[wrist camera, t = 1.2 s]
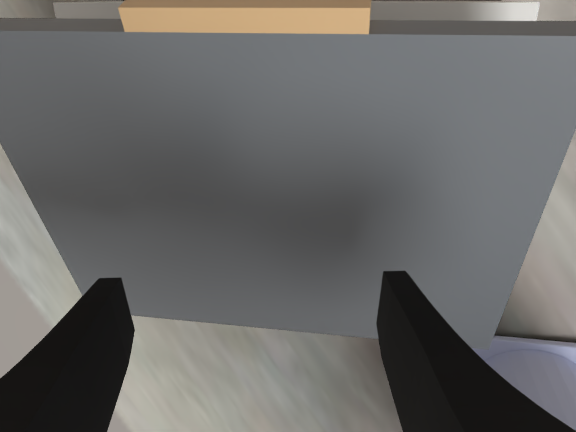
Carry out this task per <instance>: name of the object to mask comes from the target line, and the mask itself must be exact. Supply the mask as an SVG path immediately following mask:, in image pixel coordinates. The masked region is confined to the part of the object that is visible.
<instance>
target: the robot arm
mask: <svg viewBox="0 0 576 432" xmlns="http://www.w3.org/2000/svg"><path fill="white" fill-rule="evenodd" d="M376 325H377V332H378V338H379V345H380V350H381V356H382V360H383V364H384V367H385V371H386V374H387V378H388V381H389V385H390V388H391V392H392V395H393V399H394V402H395V406H396V409H397V412H398V416H399V419H400V423H401V426H402V430H403V432H576V343H570V342H560V341H549V340H538V339H527V338H516V337H505V336H495V335H494V337H493V340H492V342H491V345H490V347H489V350H486V349H476V348H471V347H470V346H469V345H468V344H467V343H466V342H465V341H464V340H463V339H462V338H461V337H460V336H459V335H458V334H457V333H456V332H455V331H454V329H453V328H452V327H451V326H450V325H449V324H448V323H447V321H446V320H445V319H444V318H443V317H442V316H441V315H440V313H439V312H438V311H437V310H436V309H435V307H434V306H433V305H432V304H431V302H430V301H429V300H428V299H427V297H426V296H425V295H424V294H423V292H422V291H421V290H420V289H419V287H418V286H417V285H416V283H415V282H414V281H413V279H412V278H411V277H410V275H409V274H408V273H407V272H406V271H383V276H382V284H381V291H380V299H379V306H378V314H377V321H376ZM134 331H135V329H134V325H133V321H132V317H131V313H130V309H129V305H128V301H127V297H126V294H125V290H124V286H123V282H122V278H99V279H98V280H97V281H96V282H95V283H94V284H93V285H92V286H91V287H90V288H89V289H88V291H87V292H86V293H85V294H84V295H83V296H82V297H81V298H80V299H79V301H78V302H77V303H76V304H75V305H74V306H73V307H72V308H71V310H70V311H69V312H68V313H67V314H66V315H65V316H64V317H63V318H62V319H61V320H60V321H59V322H58V324H57V325H56V326H55V327H54V328H53V329H52V330H51V331H50V332H49V333H48V334H47V335H46V336H45V337H44V338H43V339H42V340H41V341H40V342H39V343H38V344H37V345H36V346H35V347H34V348H33V349H32V350H31V351H30V352H29V353H28V354H27V355H26V356H25V357H24V358H23V359H22V360H21V361H20V362H19V363H17V364H16V365H15V366H14V367H13V368H12V369H11V370H10V371H9V372H7V373H6V374H5V375H4V376H3V377H2V378H0V432H107V430H108V427H109V424H110V420H111V417H112V414H113V411H114V408H115V405H116V402H117V399H118V396H119V393H120V390H121V387H122V383H123V380H124V377H125V374H126V371H127V367H128V364H129V359H130V354H131V349H132V343H133V337H134Z"/></svg>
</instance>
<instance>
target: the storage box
mask: <svg viewBox="0 0 576 432" xmlns="http://www.w3.org/2000/svg"><path fill="white" fill-rule="evenodd" d="M123 2H124V1H95V2H53V6H54V12H55V18H62V19H121V17H120V13H119V10H118V7H119V6H120V5H121V4H122V3H123ZM539 5H540V2H518V1H371V14H370V20H453V21H537V16H538V10H539Z"/></svg>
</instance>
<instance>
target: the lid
mask: <svg viewBox="0 0 576 432" xmlns="http://www.w3.org/2000/svg"><path fill="white" fill-rule="evenodd" d="M118 10H119V13H120V17H121V19H62V18H0V144H1V145H2V147H3V149H4V151H5V153H6V155H7V157H8V158H9V160H10V162H11V164H12V166H13V168H14V169H15V171H16V173H17V175H18V177H19V179H20V181H21V182H22V184H23V186H24V188H25V190H26V192H27V194H28V195H29V197H30V199H31V201H32V203H33V205H34V207H35V208H36V210H37V212H38V214H39V216H40V218H41V219H42V221H43V223H44V225H45V227H46V229H47V231H48V232H49V234H50V236H51V238H52V240H53V242H54V244H55V245H56V247H57V249H58V251H59V253H60V255H61V257H62V258H63V260H64V262H65V264H66V266H67V268H68V270H69V271H70V273H71V275H72V277H73V279H74V281H75V282H76V284H77V286H78V288H79V290H80V292H81V294H82V295H84V294H85V293H86V292H87V291H88V289H89V288H90V287H91V286H92V285H93V284H94V283H95V282H96V281H97V280H98V279H99V278H122V282H123V286H124V290H125V294H126V297H127V301H128V305H129V309H130V313H131V315H134V316H144V317H154V318H165V319H175V320H185V321H196V322H206V323H217V324H227V325H237V326H248V327H258V328H269V329H279V330H289V331H300V332H310V333H320V334H331V335H341V336H352V337H362V338H372V339H379V338H378V332H377V325H376V321H377V314H378V306H379V299H380V291H381V284H382V276H383V271H406V272H407V273H408V274H409V275H410V277H411V278H412V279H413V281H414V282H415V283H416V285H417V286H418V287H419V289H420V290H421V291H422V292H423V294H424V295H425V296H426V297H427V299H428V300H429V301H430V302H431V304H432V305H433V306H434V307H435V309H436V310H437V311H438V312H439V313H440V315H441V316H442V317H443V318H444V319H445V320H446V321H447V323H448V324H449V325H450V326H451V327H452V328H453V329H454V331H455V332H456V333H457V334H458V335H459V336H460V337H461V338H462V339H463V340H464V341H465V342H466V343H467V344H468V345H469V346H470V347H471V348H476V349H486V350H489V347H490V345H491V342H492V340H493V337H494V334H495V332H496V329H497V327H498V324H499V322H500V319H501V317H502V314H503V312H504V309H505V307H506V304H507V302H508V299H509V296H510V294H511V291H512V289H513V286H514V284H515V281H516V279H517V276H518V274H519V271H520V269H521V266H522V264H523V261H524V258H525V256H526V253H527V251H528V248H529V246H530V243H531V241H532V238H533V236H534V233H535V231H536V228H537V226H538V223H539V220H540V218H541V215H542V213H543V210H544V208H545V205H546V203H547V200H548V198H549V195H550V193H551V190H552V187H553V185H554V182H555V180H556V177H557V175H558V172H559V170H560V167H561V165H562V162H563V160H564V157H565V155H566V152H567V149H568V147H569V144H570V142H571V139H572V137H573V134H574V132H575V129H576V21H453V20H370V14H371V0H125V1H124V2H123V3H122V4H121V5H120V6H119V7H118Z"/></svg>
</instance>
